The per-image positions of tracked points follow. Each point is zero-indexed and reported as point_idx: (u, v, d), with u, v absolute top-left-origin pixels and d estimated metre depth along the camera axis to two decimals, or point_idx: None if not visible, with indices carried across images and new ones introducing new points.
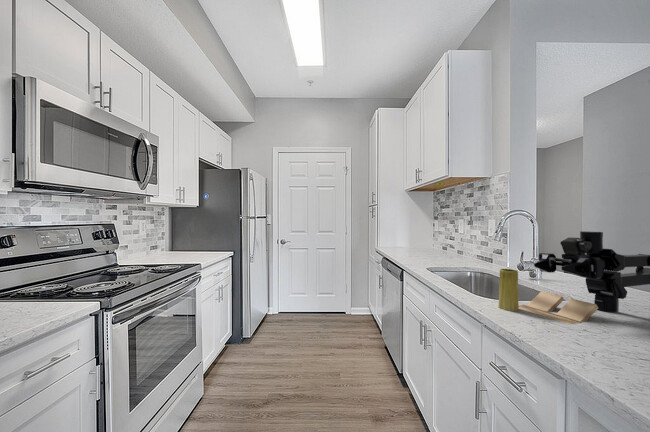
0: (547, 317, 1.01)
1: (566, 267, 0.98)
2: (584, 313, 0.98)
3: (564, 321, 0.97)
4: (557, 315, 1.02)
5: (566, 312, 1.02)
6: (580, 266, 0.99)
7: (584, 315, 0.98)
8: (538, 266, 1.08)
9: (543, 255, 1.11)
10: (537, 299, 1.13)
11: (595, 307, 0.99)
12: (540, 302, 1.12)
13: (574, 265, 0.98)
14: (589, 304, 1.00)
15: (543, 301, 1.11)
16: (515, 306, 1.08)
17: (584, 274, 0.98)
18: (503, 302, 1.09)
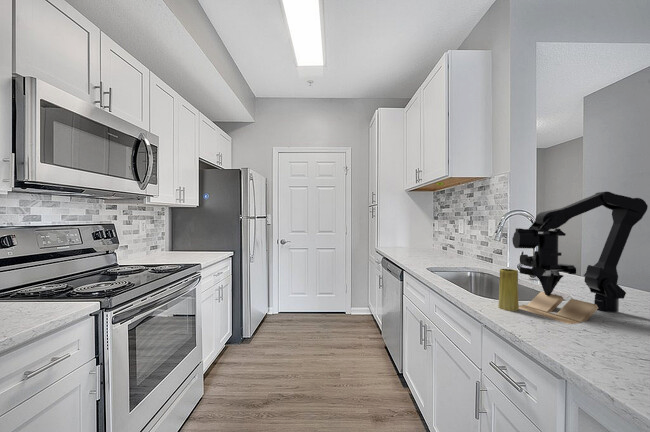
0: (547, 317, 1.01)
1: (545, 291, 1.13)
2: (584, 313, 0.98)
3: (564, 321, 0.97)
4: (557, 315, 1.02)
5: (566, 312, 1.02)
6: (543, 278, 1.12)
7: (584, 315, 0.98)
8: None
9: None
10: (537, 299, 1.13)
11: (595, 307, 0.99)
12: (540, 302, 1.12)
13: (542, 284, 1.13)
14: (589, 304, 1.00)
15: (543, 301, 1.11)
16: (515, 306, 1.08)
17: (548, 278, 1.10)
18: (503, 302, 1.09)
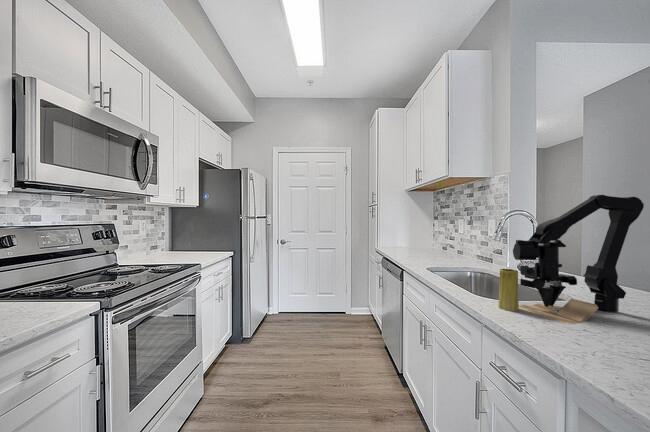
0: (547, 317, 1.01)
1: (544, 303, 1.12)
2: (584, 313, 0.98)
3: (564, 321, 0.97)
4: (557, 315, 1.02)
5: (566, 312, 1.02)
6: (542, 289, 1.12)
7: (584, 315, 0.98)
8: (551, 302, 1.12)
9: None
10: (539, 305, 1.14)
11: (595, 307, 0.99)
12: (541, 307, 1.12)
13: (541, 296, 1.13)
14: (589, 304, 1.00)
15: (544, 307, 1.12)
16: (515, 306, 1.08)
17: (547, 290, 1.10)
18: (503, 302, 1.09)
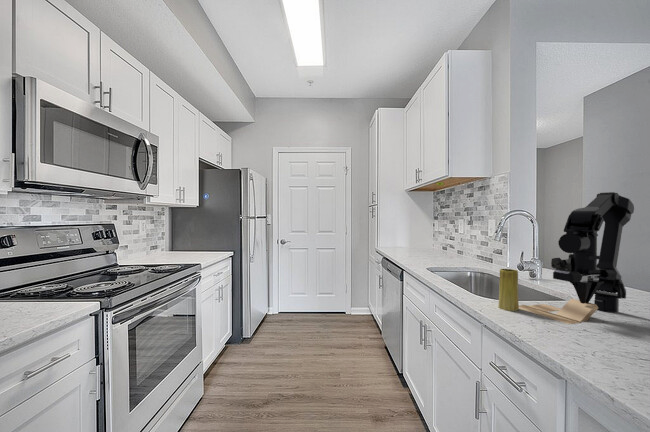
0: (547, 317, 1.01)
1: (580, 299, 1.01)
2: (584, 313, 0.98)
3: (564, 321, 0.97)
4: (557, 315, 1.02)
5: (566, 312, 1.02)
6: (578, 284, 1.01)
7: (584, 315, 0.98)
8: (587, 298, 1.01)
9: None
10: (539, 306, 1.14)
11: (595, 307, 0.99)
12: (541, 307, 1.12)
13: (577, 291, 1.01)
14: (589, 304, 1.00)
15: (544, 307, 1.12)
16: (515, 306, 1.08)
17: (584, 284, 0.98)
18: (503, 302, 1.09)
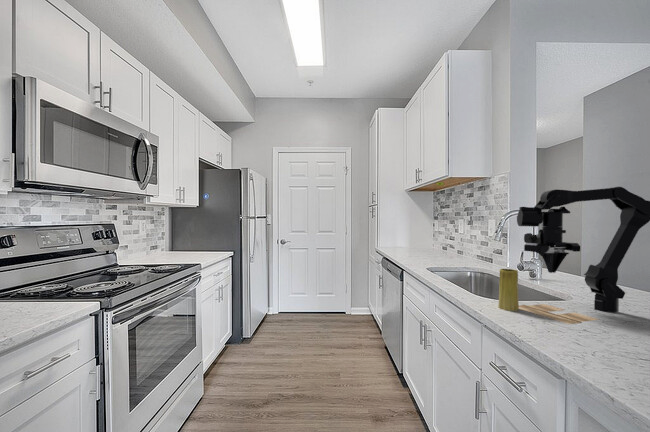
0: (547, 317, 1.01)
1: (548, 269, 1.14)
2: (585, 320, 0.99)
3: (564, 321, 0.97)
4: (557, 315, 1.02)
5: (567, 316, 1.02)
6: (547, 255, 1.14)
7: (585, 320, 0.98)
8: (554, 268, 1.13)
9: None
10: (539, 306, 1.14)
11: None
12: (541, 307, 1.12)
13: (545, 262, 1.14)
14: (592, 318, 1.00)
15: (544, 307, 1.12)
16: (515, 306, 1.08)
17: (551, 255, 1.11)
18: (503, 302, 1.09)
